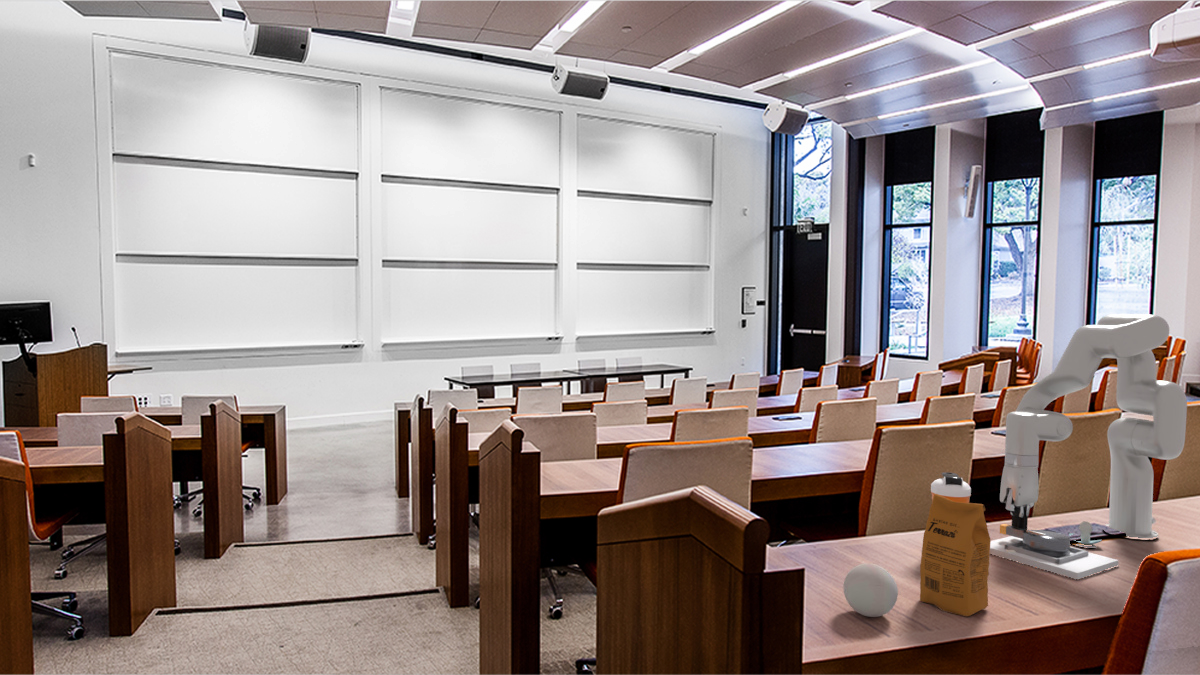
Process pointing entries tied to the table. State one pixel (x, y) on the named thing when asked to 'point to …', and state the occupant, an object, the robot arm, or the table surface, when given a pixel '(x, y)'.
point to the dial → (1040, 540)
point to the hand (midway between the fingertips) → (1019, 530)
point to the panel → (1052, 558)
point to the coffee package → (955, 557)
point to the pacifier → (1086, 535)
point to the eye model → (870, 590)
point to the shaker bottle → (951, 488)
